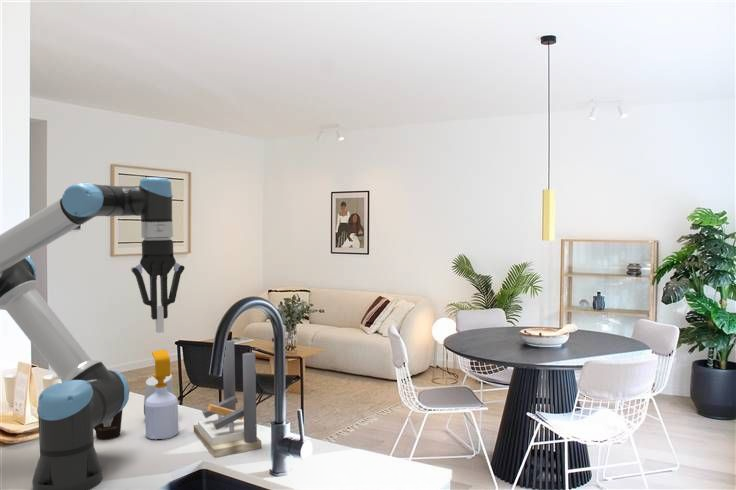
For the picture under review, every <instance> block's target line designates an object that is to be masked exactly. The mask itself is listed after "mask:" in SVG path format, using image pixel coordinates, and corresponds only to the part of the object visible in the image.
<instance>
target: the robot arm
mask: <svg viewBox="0 0 736 490" xmlns="http://www.w3.org/2000/svg"><path fill="white" fill-rule="evenodd" d="M171 182H172V181H171V180H170V179H169V178H166V177H142V178H141V179H140V180H139V185H135V186H131V185H130V186H129V185H128V186H127V185H122V186H121V185H120V186H119V185H109V184H108V185H107V184H106V185H105V184H103V185H102V184H96V183H95V184H93V183H87V182H84V183H74V184H71V185H69V186H68V187H67V188H65V190H64V193H62V197H61V198H59V199H58V200H56V201H55V202H53V203H51V204H50V205H48V206H46V207H45V208H43V209H41V210H39V211H38V212H36V213H34V214H32V215H31V216H29V217H28V218H26V219H24V220H23V221H21V222H19V223H18V224H16V225H14V226H13V227H11V228H10V229H7V230H6V231H5V232H3V233H1V234H0V310H4V311H6V312H7V314H8V315H9V316H10V317H11V319H12V320H13V321H14V323H15V324H16V325H17V326H18V327H19V329H20V330H21V331H22V332H23V334H24V335H25V336H26V338H27V339H28V340H29V341H30V343H31V344H32V345H33V346H34V348H35V349H36V350H37V351H38V352H39V354H40V355H41V357H42V358H43V359H44V360H45V362H46V363H47V364H48V365H49V367H50V368H51V369H52V370H53V372H54V373H55V374H56V376H58V378H59V379H60V380H61V382H59V383H58V382H57V383H54V384H52V385H50V386H48V387H46V388H45V389H44V390H42V392H41V393H40V394H39V396H38V402H37V410H36V412H37V415H38V417H37V418H38V437H39V441H38V442H39V443H38V444H39V457H38V461H37V464H36V467H35V471H34V474H33V477H32V482H31V483H32V485H31V486H32V490H89V489H91V488H94V487H95V486H97V485H99V484H100V483H101V482H102V480H103V477H104V474H103V472H104V471H103V466H102V463H101V461H100V459H99V456H98V454H97V451H96V449H95V443H94V442H95V441H94V440H95V439H94V437H95V436H94V427H96V426H97V425H99V424H101V423H102V422H104V421H106V420H107V419H109V418H112V417H114V416H115V415H116V414H117V413H118V412H120V411H121V410H122V409H124V408H125V407H126V405H127V404H128V401H129V398H130V397H129V395H130V386H129V381H127V380H128V379H126V377H125V376H124V375H123V374H122V373H121V372H119V371H117V370H112V369H108V368H107V367H106V366H105V365H104V363H103V362H102V361H100V360H93V359H92V358H91V357H90V356H89V354H87V352H86V351H85V350H84V349H83V347H82V346H81V344H80V343H79V342H78V341H77V339H76V338H75V337H74V336H73V334H72V333H71V332H70V330H69V329H68V328H67V327H66V325H65V324H64V322H62V320H61V319H60V318H59V317H58V315H57V314H56V313H55V312H54V310H53V309H52V308H51V306H50V305H49V304H48V303H47V301H46V300H45V299H44V298H43V296H42V295H41V294H40V292H39V291H38V287H39V281H38V280H37V273H36V271H37V268H36V265H35V262H33V260H32V259H31V257H29V256H31V255H32V254H35V253H36V252H38V251H40V250H41V249H43V248H45V247H46V246H48V245H49V244H52V243H53V242H55V241H57V240H58V239H59V238H62V237H63V236H65V235H66V234H68V233H70V232H71V231H73V230H75V229H76V228H78V227H80V226H81V225H83V224H85V223H87V222H89V221H90V220H92V219H93V218H95V217H96V218H97V217H126V216H127V217H129V216H131V217H133V216H136V217H137V216H138V217H139V216H140V226H141V228H140V229H141V239H143V240H142V241H141V259H140V260H139V261H140V262H139V264H137V265H136V266H133V267H131V268H130V270H131V272H132V273H133V275H134V276H135V280H136V282H137V286H138V290H139V293H140V296H141V297H140V298H141V299H142V303H143V304H144V305H145V306H149V307H150V317H151V319H152V320H155V332H156V333H157V334H160V333H165V325H164V324H165V323H164V322H165V321H164V320H166V319H168V316H169V314H168V312H169V311H168V306H169V305H172V304H174V303H175V301H176V298H177V294H178V289H179V284H180V280H181V275H182V274H183V272H184V270H185V266H184V265H182V264H180V263H177V262H176V258H175V256H174V240H172V238H173V237H174V231H173V191H172V183H171ZM172 269H173V271H174V273H173V275H172V281H171V284H170V285H171V286H170V290H169V292H168V275H169V273H170V272H171V271H172ZM143 271H145V272H146V273H147V274H148V275H149V276H148V277H149V294H148V292H147V288H146V284H145V281H144V277H143V275H142V273H143ZM158 276H159V281H160V304H159V305H158V285H157V282H158V281H157V280H158ZM168 293H169V294H168ZM149 296H150V297H149ZM149 298H150V299H149ZM122 411H123V410H122Z"/></svg>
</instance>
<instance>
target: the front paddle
mask: <svg viewBox="0 0 736 490" xmlns="http://www.w3.org/2000/svg"><path fill="white" fill-rule="evenodd" d="M241 417H243V418H244V406H241V407H240V408H237V409H236V411H234V412H232V413H230V414H228V415H226V416H224V417H222V418H220V419H218V420H216V421H214V422H212V423H213V425H214V428H215V429H216V430H218V429H220V428H221V427H223V426H225V425H227V424H229V423H231V422H233V421H235V420H237V419H239V418H241Z"/></svg>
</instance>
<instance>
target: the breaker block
mask: <svg viewBox="0 0 736 490" xmlns="http://www.w3.org/2000/svg"><path fill="white" fill-rule="evenodd" d="M224 416H225V415H221V414H217V417H216V418H212V419H206V420H200V421H197V425H198V429H199V430H200V431H201V432H202V434H203V435H204V436H205V437H206V438H207V440H208V441H209V442H210V443H211V444H212V445H217V444H222V443H227V442H232V441H237V440H242V439H244V418H242V420H239V419H237V420H235V421H233V422H231V423H229V424H227V425H225V426H223V427H221V428H220V429H218V430H216V429H215V428H214V425H213V423H212V422H214V421H216V420H218V419H220V418H222V417H224Z"/></svg>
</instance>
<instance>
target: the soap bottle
mask: <svg viewBox="0 0 736 490" xmlns="http://www.w3.org/2000/svg"><path fill="white" fill-rule="evenodd" d="M151 355H152V357H153V358H154V359H153V360H154V367H155V368H154V370H155V373H152V374H151V376H153V377H154V378H156V380H158V384H155V393H154V394H152V395H151V396H149V397H148V398H147V400H146V402H145V415H144V420H145V423H144V425H145V428H144V429H145V437H146V438H147V439H150V440H154V439H155V440H156V441H158V440H157V439H162V440H166V439H171V438H173V437H175V436H177V435H178V434H179V404H178V403H179V402H178V401H179V400H178V397H177V396H176V395H175V394H174V395H173V394H172V393H170V392H168V391H167V383H164V379H166V377H167V376H170V374H171V359H170V354H169V353H168V351H167V350H166V349H161V350H153V351H151Z"/></svg>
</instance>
